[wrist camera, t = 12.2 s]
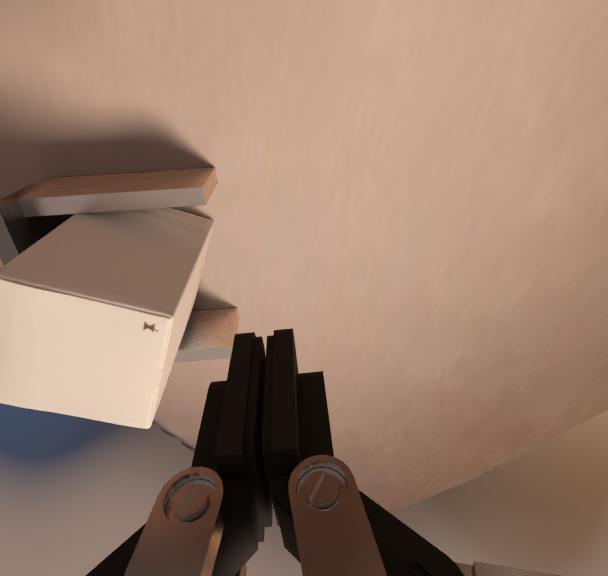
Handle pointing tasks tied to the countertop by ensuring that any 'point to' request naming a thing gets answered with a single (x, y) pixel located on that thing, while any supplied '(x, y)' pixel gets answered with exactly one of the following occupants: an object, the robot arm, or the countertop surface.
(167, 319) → the supplement box
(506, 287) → the countertop surface
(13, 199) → the bracket
